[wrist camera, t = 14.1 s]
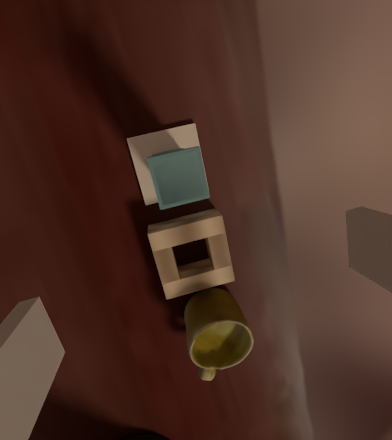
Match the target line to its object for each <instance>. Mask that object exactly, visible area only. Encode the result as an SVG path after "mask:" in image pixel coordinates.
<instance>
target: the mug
mask: <svg viewBox="0 0 392 440" xmlns="http://www.w3.org/2000/svg"><path fill="white" fill-rule="evenodd" d="M184 318H185V323H186V333H187V349H188V353H189V355H190V357H191V359H192V361H193V362H194V363H195V364H196V365H197V372H198V374H199V376H200V378H201V379H202V380H208V381H211V380H212V379H213V378H214V377H215V374H216V369H225V368H228V367H232V366H235V365H237V364H238V363H240V362H241V361H242V360H243V359H244V358H245V357H246V356H247V355H248V354H249V353H250V351H251V349H252V347H253V342H254V340H253V335H252V332H251V329H250V327H249V324H248V321H247V319H246V318H245V316H244V314H243V312H242V310H241V309H240V307H239V305H238V303H237V302H236V300H235V298H234V297H233V296H232V295H231V294H230V293H229V292H227V291H226V290H223V289H219V288H210V289H203V290H201V291H199V292H197V293H196V294H194V295H192V297H191V298H190V299H189V301H188V303H187V305H186V307H185V312H184Z"/></svg>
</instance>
